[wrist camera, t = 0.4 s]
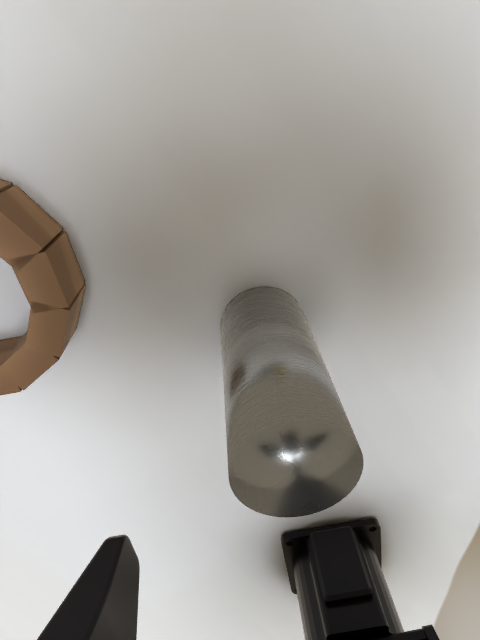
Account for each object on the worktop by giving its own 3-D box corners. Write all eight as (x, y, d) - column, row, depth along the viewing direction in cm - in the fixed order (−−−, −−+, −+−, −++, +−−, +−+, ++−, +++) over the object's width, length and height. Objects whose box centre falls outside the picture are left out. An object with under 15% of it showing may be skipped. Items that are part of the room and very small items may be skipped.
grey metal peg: (307, 351, 21) (365, 504, 13) (229, 365, 21) (241, 526, 14) (298, 279, 19) (360, 409, 11) (213, 295, 19) (216, 435, 12)
